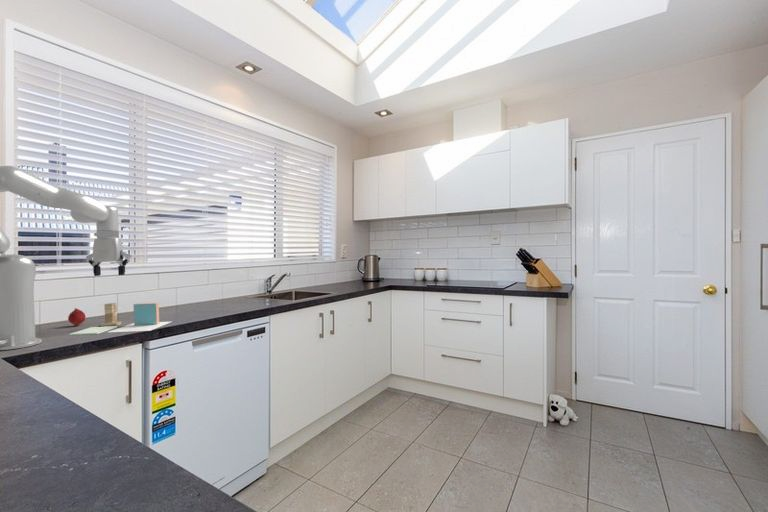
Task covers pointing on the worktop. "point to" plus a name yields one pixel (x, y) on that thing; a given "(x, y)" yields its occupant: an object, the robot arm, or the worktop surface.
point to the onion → (76, 317)
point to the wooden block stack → (110, 315)
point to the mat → (139, 327)
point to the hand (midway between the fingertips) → (109, 275)
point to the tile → (146, 314)
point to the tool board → (93, 330)
